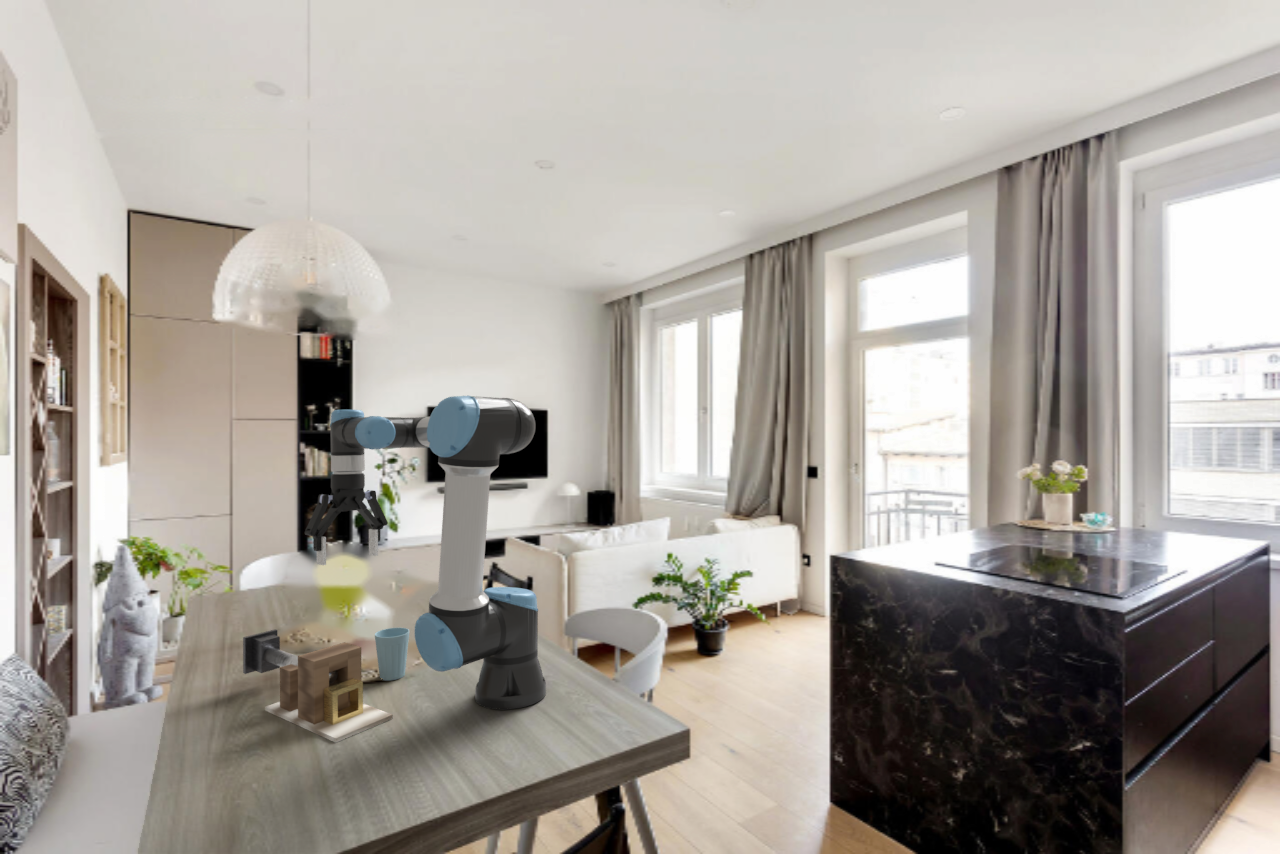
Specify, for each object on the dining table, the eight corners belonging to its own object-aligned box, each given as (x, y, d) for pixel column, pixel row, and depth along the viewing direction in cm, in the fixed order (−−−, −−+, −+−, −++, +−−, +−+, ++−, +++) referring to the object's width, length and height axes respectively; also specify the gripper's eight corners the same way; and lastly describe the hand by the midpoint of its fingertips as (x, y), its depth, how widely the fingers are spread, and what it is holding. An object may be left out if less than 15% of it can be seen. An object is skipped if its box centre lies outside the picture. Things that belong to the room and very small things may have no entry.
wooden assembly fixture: (392, 718, 129) (392, 653, 129) (335, 742, 119) (335, 672, 119) (321, 690, 143) (320, 632, 143) (265, 710, 133) (264, 647, 133)
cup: (411, 679, 149) (410, 634, 150) (375, 684, 146) (375, 639, 147) (408, 668, 156) (408, 625, 157) (374, 673, 153) (374, 630, 153)
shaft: (346, 690, 133) (346, 651, 133) (313, 702, 127) (313, 661, 128) (275, 663, 149) (275, 629, 150) (243, 673, 144) (243, 637, 144)
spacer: (363, 712, 130) (362, 681, 130) (332, 725, 124) (332, 692, 124) (354, 709, 131) (354, 678, 131) (324, 721, 126) (324, 688, 126)
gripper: (383, 469, 169) (384, 550, 169) (288, 475, 149) (288, 567, 148) (401, 470, 165) (402, 552, 165) (305, 476, 144) (306, 570, 144)
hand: (348, 559), depth 157 cm, fingers open, 13 cm apart
